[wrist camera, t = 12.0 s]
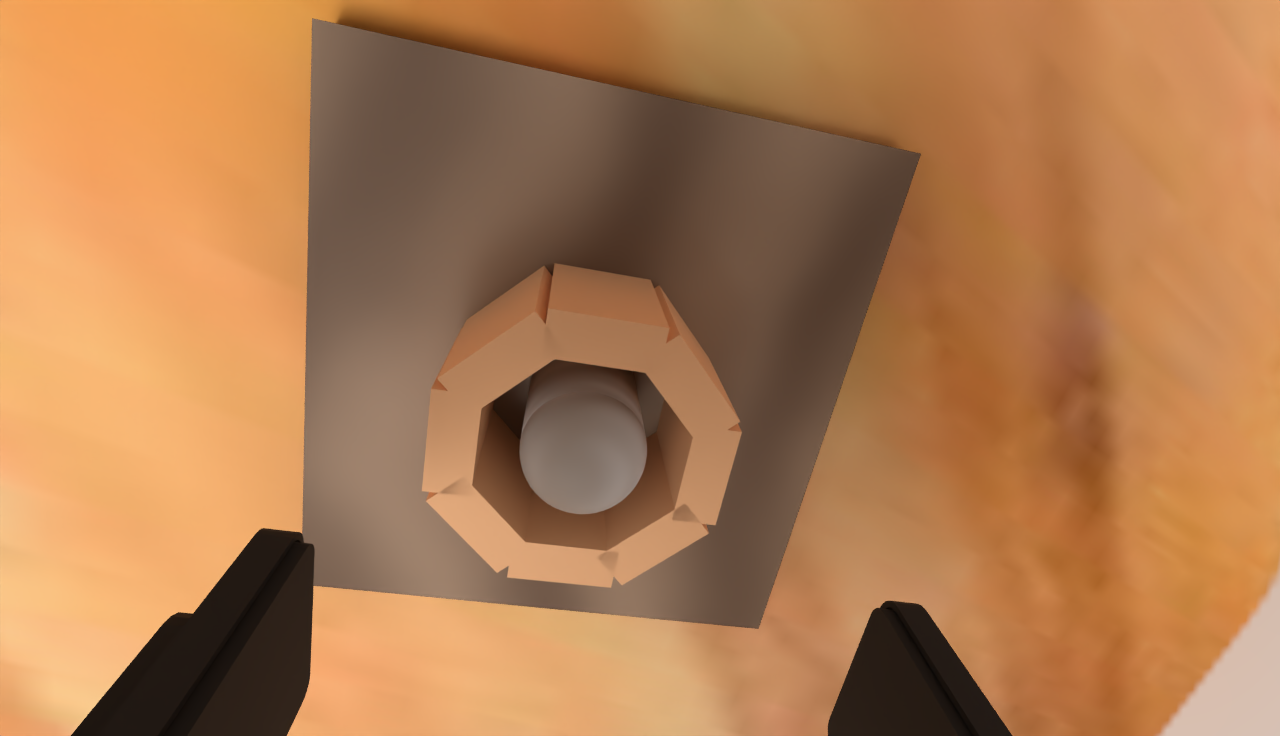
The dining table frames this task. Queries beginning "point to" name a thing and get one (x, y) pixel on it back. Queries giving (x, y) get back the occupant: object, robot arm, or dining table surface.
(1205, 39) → the dining table surface
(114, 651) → the dining table surface
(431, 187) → the post base
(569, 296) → the ring
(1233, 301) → the dining table surface
